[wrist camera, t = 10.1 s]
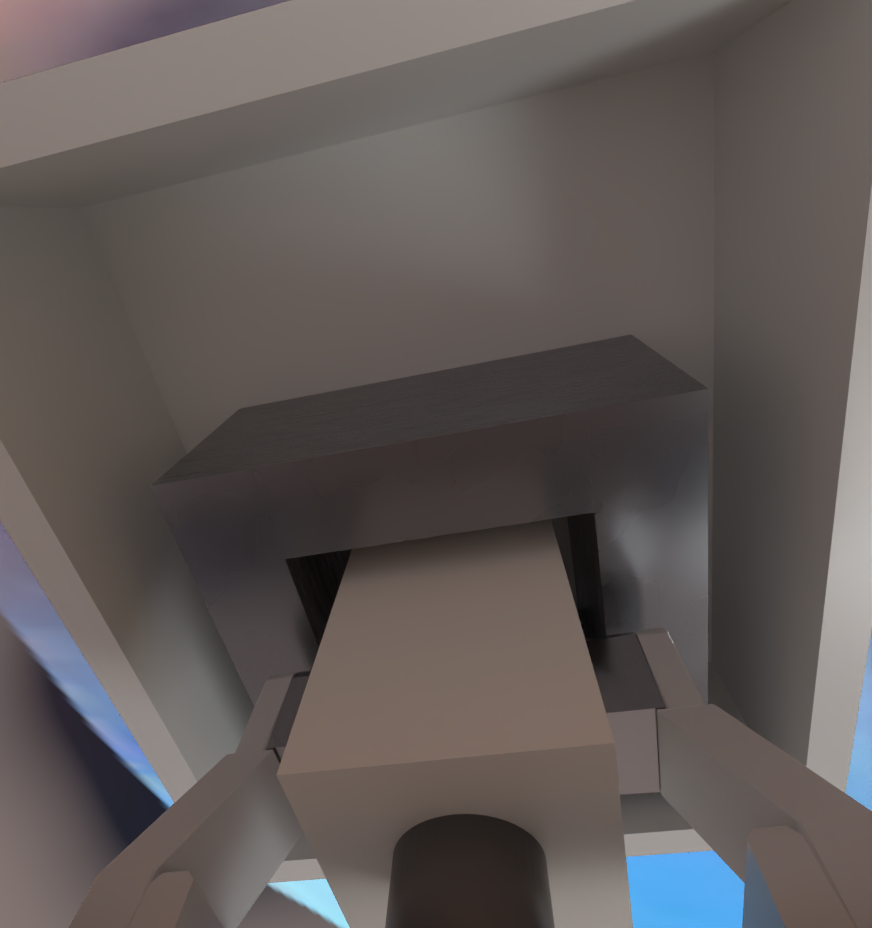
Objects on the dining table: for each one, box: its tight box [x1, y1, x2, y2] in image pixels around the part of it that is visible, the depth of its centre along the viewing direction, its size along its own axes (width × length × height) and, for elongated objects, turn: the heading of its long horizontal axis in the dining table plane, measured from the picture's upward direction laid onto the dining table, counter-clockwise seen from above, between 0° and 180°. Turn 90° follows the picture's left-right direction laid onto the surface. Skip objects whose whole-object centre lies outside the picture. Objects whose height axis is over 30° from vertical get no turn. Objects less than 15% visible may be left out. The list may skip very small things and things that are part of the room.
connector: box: [276, 519, 633, 928], centre depth 9 cm, size 4×4×8 cm
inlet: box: [150, 335, 709, 795], centre depth 12 cm, size 9×9×4 cm
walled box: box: [0, 0, 872, 883], centre depth 11 cm, size 16×14×5 cm
